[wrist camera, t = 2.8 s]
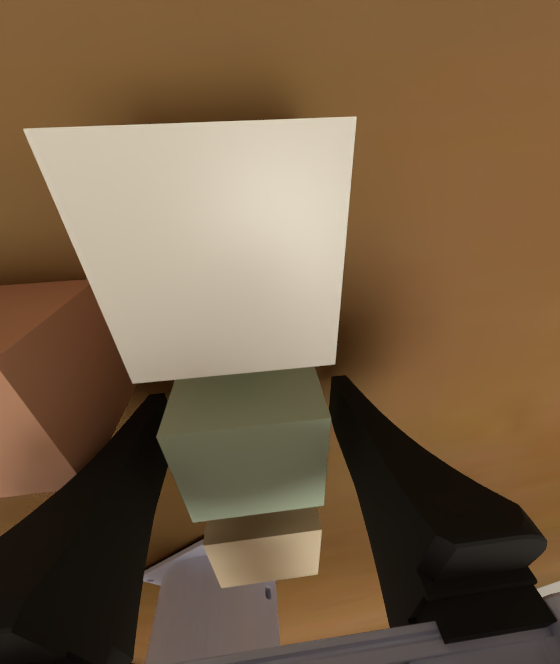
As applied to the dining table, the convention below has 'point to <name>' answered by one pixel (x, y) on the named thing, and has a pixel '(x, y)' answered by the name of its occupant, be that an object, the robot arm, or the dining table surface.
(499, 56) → the dining table surface
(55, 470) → the terracotta block
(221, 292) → the offwhite block
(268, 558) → the maple block
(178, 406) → the sage block
